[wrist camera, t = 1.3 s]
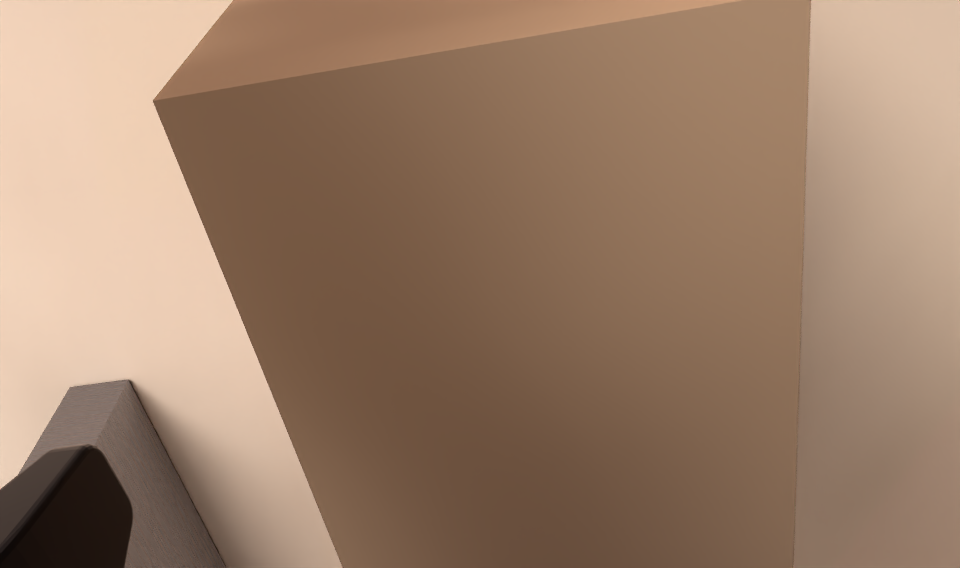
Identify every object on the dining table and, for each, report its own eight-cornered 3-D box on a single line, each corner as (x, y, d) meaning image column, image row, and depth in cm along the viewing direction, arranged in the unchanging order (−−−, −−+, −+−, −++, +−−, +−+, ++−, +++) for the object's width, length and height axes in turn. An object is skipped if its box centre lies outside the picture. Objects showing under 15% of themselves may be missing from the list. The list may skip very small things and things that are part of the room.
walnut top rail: (630, -186, 12) (810, -12, 5) (682, 522, 19) (781, 957, 13) (337, -129, 12) (152, 99, 6) (501, 542, 20) (507, 972, 13)
